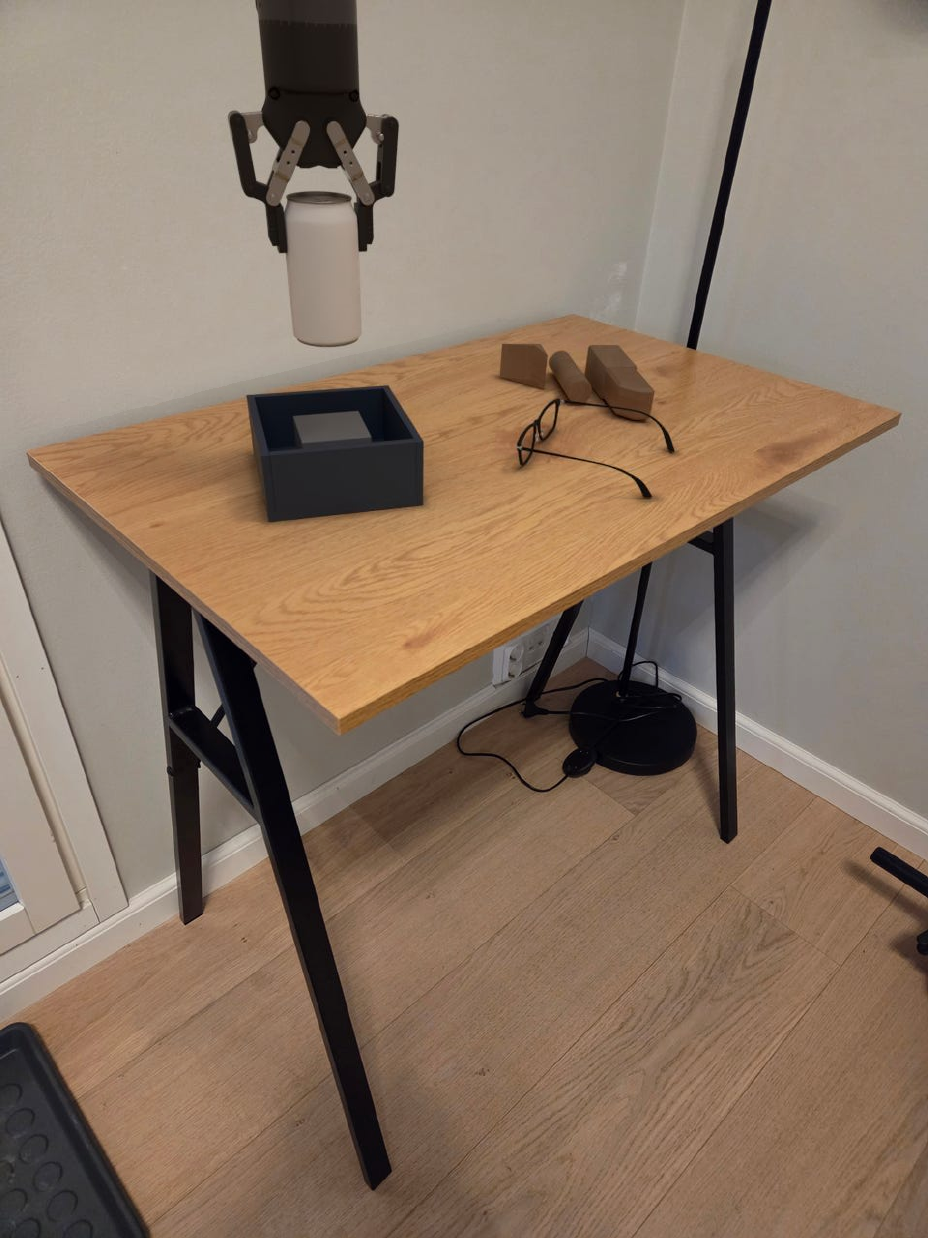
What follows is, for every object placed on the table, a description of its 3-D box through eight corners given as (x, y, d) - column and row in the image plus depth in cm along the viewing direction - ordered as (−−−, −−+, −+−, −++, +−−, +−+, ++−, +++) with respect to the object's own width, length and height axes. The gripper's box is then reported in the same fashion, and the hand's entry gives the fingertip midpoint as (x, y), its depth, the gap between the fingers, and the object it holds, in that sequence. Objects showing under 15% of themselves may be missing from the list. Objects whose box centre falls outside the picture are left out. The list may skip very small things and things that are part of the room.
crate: (268, 522, 77) (260, 455, 73) (253, 454, 89) (246, 394, 85) (423, 504, 81) (423, 441, 77) (389, 442, 93) (388, 384, 89)
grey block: (305, 488, 81) (301, 442, 78) (296, 459, 86) (292, 415, 83) (373, 481, 83) (371, 436, 80) (360, 453, 88) (358, 410, 85)
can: (368, 329, 78) (363, 192, 70) (354, 350, 72) (347, 204, 65) (303, 325, 78) (292, 188, 71) (284, 345, 73) (271, 199, 66)
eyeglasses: (552, 422, 100) (555, 392, 97) (677, 447, 95) (684, 415, 93) (507, 475, 87) (510, 441, 85) (648, 506, 83) (655, 471, 80)
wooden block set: (618, 335, 112) (659, 380, 98) (612, 374, 115) (651, 423, 101) (501, 334, 110) (525, 380, 95) (498, 374, 113) (521, 424, 99)
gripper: (213, 11, 56) (243, 262, 66) (410, 21, 60) (410, 258, 70) (208, 11, 62) (236, 243, 72) (388, 21, 65) (391, 240, 75)
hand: (322, 250), depth 71 cm, fingers closed on can, 6 cm apart
